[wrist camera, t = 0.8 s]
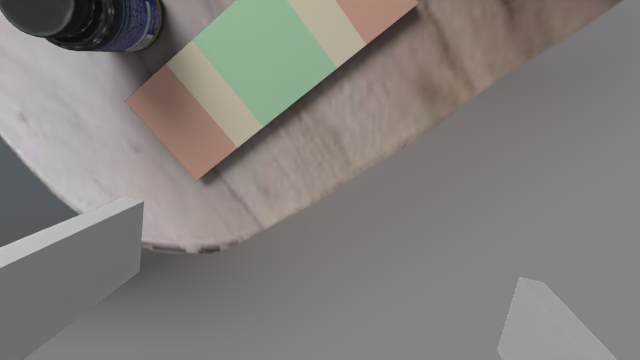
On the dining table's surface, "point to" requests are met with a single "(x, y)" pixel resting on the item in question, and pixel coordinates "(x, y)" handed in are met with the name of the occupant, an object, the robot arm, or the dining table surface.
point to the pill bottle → (89, 22)
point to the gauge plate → (252, 71)
